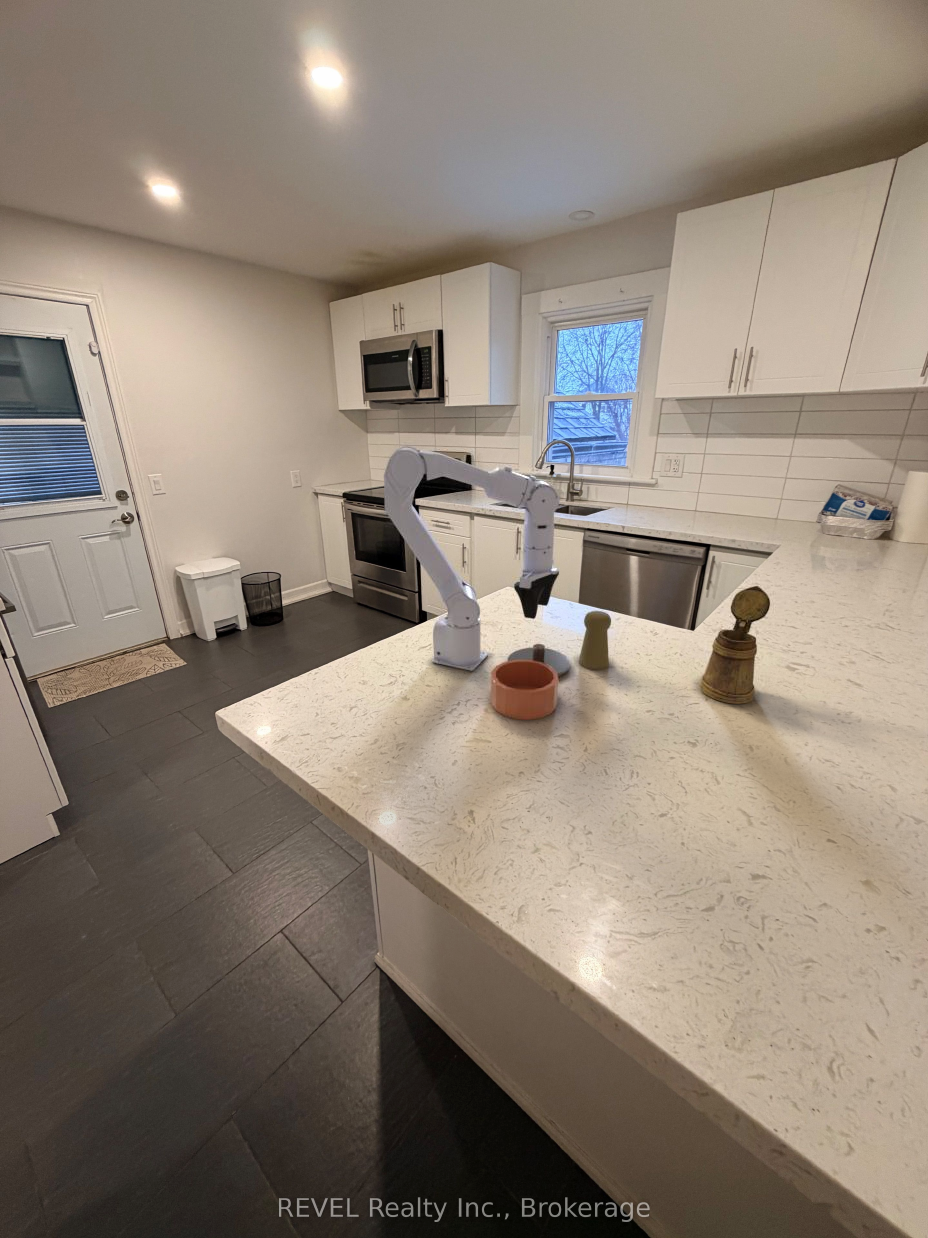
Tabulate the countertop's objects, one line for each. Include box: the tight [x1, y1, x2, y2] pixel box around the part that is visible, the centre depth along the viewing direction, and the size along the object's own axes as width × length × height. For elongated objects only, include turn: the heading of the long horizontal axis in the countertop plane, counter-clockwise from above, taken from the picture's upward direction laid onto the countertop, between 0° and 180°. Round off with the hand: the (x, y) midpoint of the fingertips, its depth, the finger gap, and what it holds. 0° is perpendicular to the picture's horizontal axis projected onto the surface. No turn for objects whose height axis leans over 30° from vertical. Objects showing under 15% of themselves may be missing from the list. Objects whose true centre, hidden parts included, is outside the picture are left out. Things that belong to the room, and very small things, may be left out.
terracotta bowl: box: [490, 660, 559, 721], centre depth 88 cm, size 12×12×5 cm
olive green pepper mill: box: [578, 610, 612, 670], centre depth 100 cm, size 6×6×11 cm
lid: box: [506, 643, 571, 677], centre depth 100 cm, size 13×13×4 cm
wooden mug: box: [699, 585, 771, 705], centre depth 89 cm, size 9×14×18 cm, turn 140°
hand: (536, 611), depth 101 cm, fingers open, 7 cm apart
